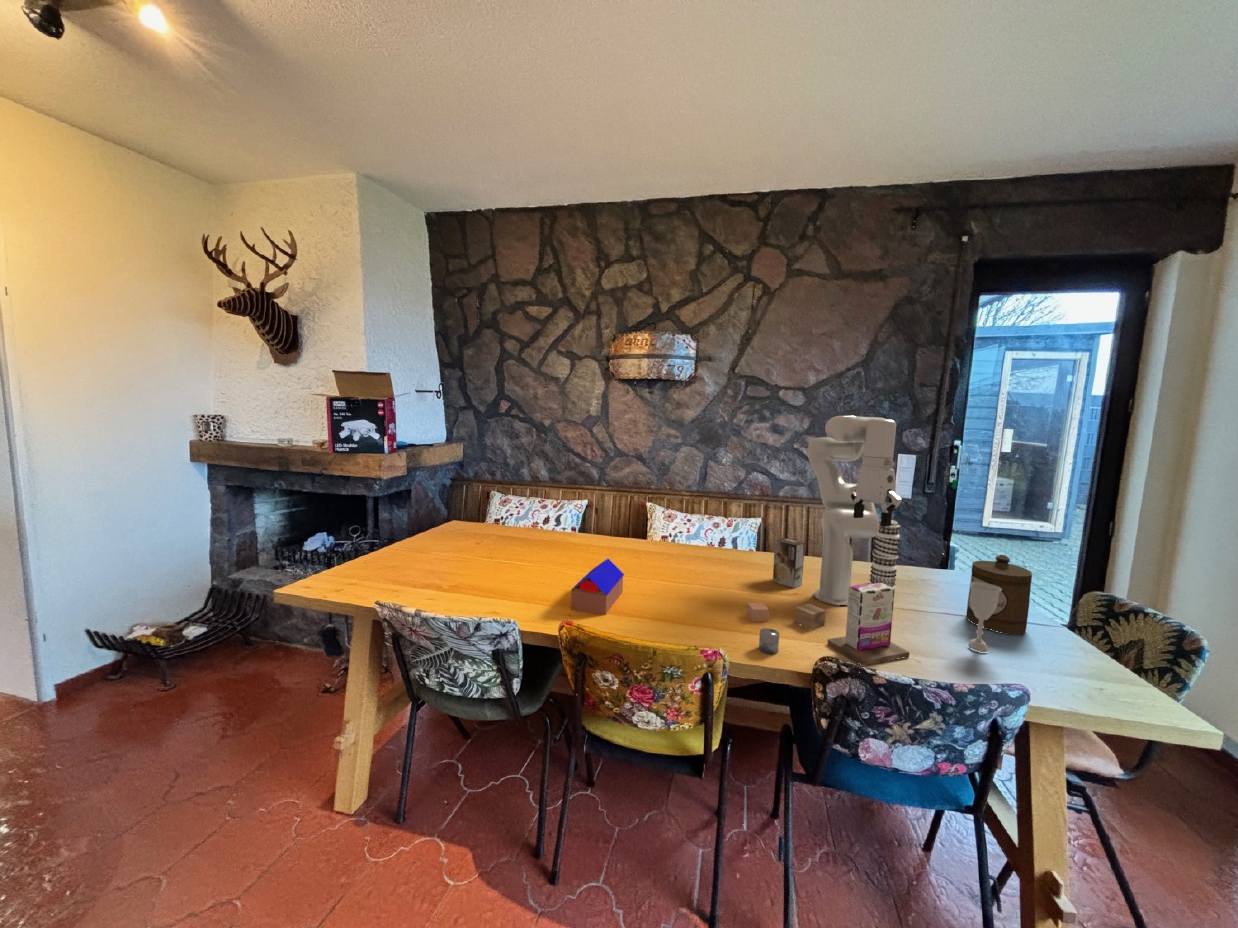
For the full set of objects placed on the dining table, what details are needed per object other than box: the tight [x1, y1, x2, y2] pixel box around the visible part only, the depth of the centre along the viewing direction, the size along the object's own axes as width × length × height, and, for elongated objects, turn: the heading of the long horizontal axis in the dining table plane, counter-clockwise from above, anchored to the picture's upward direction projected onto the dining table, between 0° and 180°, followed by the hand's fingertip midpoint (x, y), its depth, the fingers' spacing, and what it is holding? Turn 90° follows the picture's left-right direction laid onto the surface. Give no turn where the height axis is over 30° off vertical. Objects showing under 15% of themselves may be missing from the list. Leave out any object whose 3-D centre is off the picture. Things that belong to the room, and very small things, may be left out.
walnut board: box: [827, 635, 910, 666], centre depth 133 cm, size 16×12×2 cm
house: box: [570, 558, 625, 616], centre depth 161 cm, size 12×20×12 cm, turn 164°
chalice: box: [967, 582, 1002, 652], centre depth 135 cm, size 7×7×18 cm
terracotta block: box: [746, 602, 770, 623], centre depth 152 cm, size 5×5×4 cm
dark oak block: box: [794, 603, 827, 631], centre depth 149 cm, size 6×6×5 cm
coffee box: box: [772, 537, 806, 589], centre depth 182 cm, size 9×6×16 cm
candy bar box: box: [845, 583, 896, 651], centre depth 133 cm, size 11×5×16 cm, turn 107°
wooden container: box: [965, 554, 1033, 635], centre depth 151 cm, size 15×15×22 cm
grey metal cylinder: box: [758, 627, 780, 656], centre depth 132 cm, size 5×5×5 cm
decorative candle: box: [869, 518, 902, 587], centre depth 181 cm, size 9×9×25 cm
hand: (871, 521), depth 141 cm, fingers open, 9 cm apart
